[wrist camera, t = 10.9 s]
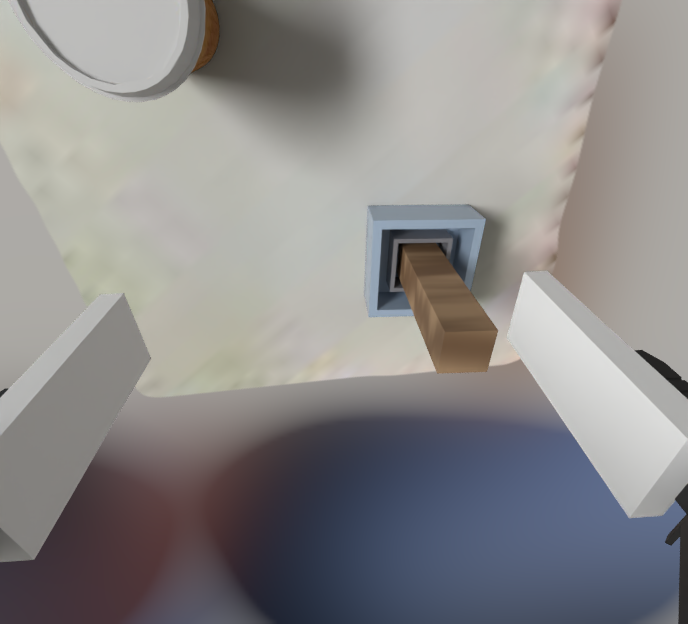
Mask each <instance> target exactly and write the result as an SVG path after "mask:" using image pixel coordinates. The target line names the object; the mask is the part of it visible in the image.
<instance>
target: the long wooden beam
mask: <svg viewBox="0 0 688 624" xmlns="http://www.w3.org/2000/svg"><path fill="white" fill-rule="evenodd" d="M397 274H398V277H399V279H400V282H401V284H402V287H403V289H404V292H405V294H406V296H407V299H408V301H409V304H410V306H411V309H412V311H413V314H414V316H415V319H416V321H417V324H418V326H419V329H420V331H421V334H422V336H423V339H424V341H425V344H426V346H427V349H428V351H429V354H430V356H431V359H432V361H433V364H434V366H435V369H436V371H437V373H461V372H462V373H463V372H487V369H488V366H489V362H490V358H491V355H492V351H493V347H494V344H495V340H496V336H497V333H498V330H497V328H496V327H495V325H494V324H493V323H492V321H491V320H490V318H489V317H488V316H487V314H486V313H485V311H484V310H483V308H482V307H481V306H480V304H479V303H478V301H477V300H476V299H475V297H474V296H473V294H472V293H471V292H470V290H469V289H468V287H467V286H466V285H465V283H464V282H463V280H462V279H461V278H460V276H459V275H458V273H457V272H456V270H455V269H454V268H453V266H452V265H451V263H450V262H449V261H448V259H447V258H446V256H445V255H444V254H443V252H442V251H441V249H440V248H439V247H438V245H437V244H436V243H399V251H398V262H397Z"/></svg>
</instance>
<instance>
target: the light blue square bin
mask: <svg viewBox="0 0 688 624" xmlns="http://www.w3.org/2000/svg"><path fill="white" fill-rule="evenodd" d="M485 221H486V219H485V218H484V217H483V216H482V215H480V214H479V213H478V212H477V211H476V210H474V209H473V208H472V207H471V206H470V205H385V206H368V211H367V236H366V262H365V288H364V297H365V302H366V306H367V311H368V316H369V317H393V316H414V314H413V311H412V309H411V306H410V304H409V301H408V299H407V296H406V294H405V292H404V289H403V287H402V284H401V282H400V279H399V277H398V274H397V262H398V251H399V243H436V244H437V245H438V247H439V248H440V249H441V251H442V252H443V254H444V255H445V256H446V258H447V259H448V261H449V262H450V263H451V265H452V266H453V268H454V269H455V270H456V272H457V273H458V275H459V276H460V278H461V279H462V280H463V282H464V283H465V285H466V286H467V287H468V289H469V290H470V292H471V287H472V282H473V278H474V273H475V268H476V264H477V259H478V254H479V249H480V245H481V240H482V235H483V231H484V226H485Z"/></svg>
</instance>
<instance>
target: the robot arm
mask: <svg viewBox="0 0 688 624" xmlns="http://www.w3.org/2000/svg"><path fill="white" fill-rule="evenodd" d="M507 339H508V340H509V342H510V343H511V345H512V346H513V348H514V349H515V351H516V352H517V354H518V355H519V357H520V358H521V360H522V361H523V362H524V364H525V365H526V367H527V368H528V370H529V371H530V373H531V374H532V376H533V377H534V379H535V380H536V381H537V383H538V385H539V386H540V387H541V389H542V390H543V392H544V393H545V395H546V396H547V398H548V399H549V401H550V402H551V404H552V405H553V407H554V408H555V410H556V411H557V412H558V414H559V415H560V417H561V418H562V420H563V421H564V422H565V424H566V426H567V427H568V429H569V430H570V432H571V433H572V435H573V436H574V438H575V439H576V441H577V442H578V443H579V445H580V446H581V448H582V449H583V451H584V452H585V454H586V455H587V456H588V458H589V460H590V461H591V462H592V464H593V466H594V467H595V468H596V470H597V471H598V473H599V474H600V476H601V477H602V479H603V480H604V482H605V483H606V485H607V486H608V488H609V489H610V490H611V492H612V493H613V495H614V496H615V498H616V499H617V501H618V502H619V504H620V505H621V507H622V508H623V510H624V511H625V512H626V514H627V516H628V517H629V518H637V517H652V516H663V515H664V513H665V512H666V511H667V510H668V509H669V507H670V506H671V505H672V504H673V503H674V501H675V500H676V501H677V502H678V504H679V505H680V506H681V508H682V509H683V510H684V511H685V512H686V516H685V517H684V518H683V519H682V520H681V521H680V522H679V524H677V526H676V527H675V528H674V529H673V530H672V531H671V532H670V533H669V534H668V536H667V539H666V541H665V543H667V544H669V545H672V544H673V543H674V542H675V541H676V540H677V539H678V538H679V537H680V578H679V580H680V581H679V622H678V624H688V383H687V382H686V381H685V380H681V377H680V376H679V375H678V374H677V373H676V372H675V371H673V370H672V369H671V368H670V367H669V366H668V365H667V364H666V363H664V362H663V361H661V360H659V359H657V358H655V357H654V356H652V355H650V354H648V353H646V352H644V351H643V350H633V349H632V348H631V347H630V346H629V345H628V344H627V343H626V342H624V341H623V340H622V339H621V338H620V337H619V336H618V335H617V334H616V333H615V332H613V331H612V330H611V329H610V328H609V327H608V326H607V325H606V324H605V323H604V322H603V321H601V320H600V319H599V318H598V317H597V316H596V315H595V314H594V313H593V312H592V311H590V310H589V309H588V308H587V307H586V306H585V305H584V304H583V303H582V302H581V301H580V300H578V299H577V298H576V297H575V296H574V295H573V294H572V293H571V292H570V291H568V290H567V289H566V288H565V287H564V286H563V285H562V284H561V283H560V282H559V281H558V280H557V279H555V278H554V277H553V276H552V275H551V274H550V273H549V272H548V271H532V272H524V274H523V278H522V282H521V286H520V289H519V293H518V297H517V301H516V305H515V308H514V312H513V316H512V320H511V324H510V327H509V331H508V335H507ZM150 359H151V357H150V355H149V352H148V350H147V347H146V345H145V343H144V340H143V338H142V335H141V333H140V331H139V328H138V326H137V324H136V321H135V319H134V316H133V314H132V312H131V309H130V307H129V304H128V302H127V300H126V297H125V295H124V293H119V294H100V295H99V296H98V297H97V298H96V299H95V300H94V301H93V302H92V303H91V304H90V305H89V306H88V307H87V308H86V309H85V311H83V312H82V313H81V315H80V316H79V317H78V318H77V319H76V320H75V321H74V322H73V323H72V324H71V325H70V326H69V327H68V328H67V329H66V330H65V331H64V332H63V333H62V334H61V335H60V336H59V337H58V338H57V339H56V340H55V342H53V344H52V345H51V346H50V347H49V348H48V349H47V350H46V351H45V352H44V353H43V354H42V355H41V356H40V357H39V358H38V359H37V360H36V361H35V362H34V363H33V364H32V365H31V366H30V367H29V369H28V370H26V372H25V373H24V374H23V375H22V376H21V377H20V378H19V379H18V380H17V381H16V382H15V383H14V384H13V385H12V386H11V387H10V388H9V389H4V390H2V391H1V392H0V562H7V561H20V560H21V561H22V560H34V559H35V557H36V556H37V554H38V552H39V550H40V549H41V547H42V545H43V543H44V542H45V540H46V538H47V536H48V535H49V533H50V531H51V530H52V528H53V526H54V525H55V523H56V521H57V519H58V517H59V516H60V514H61V512H62V511H63V509H64V507H65V506H66V504H67V502H68V500H69V499H70V497H71V495H72V494H73V492H74V490H75V488H76V486H77V485H78V483H79V481H80V480H81V478H82V476H83V475H84V473H85V471H86V469H87V468H88V466H89V464H90V462H91V461H92V459H93V457H94V455H95V454H96V452H97V451H98V448H99V447H100V445H101V444H102V442H103V440H104V438H105V437H106V435H107V433H108V431H109V429H110V428H111V426H112V425H113V423H114V421H115V420H116V418H117V416H118V414H119V413H120V411H121V409H122V407H123V406H124V404H125V402H126V401H127V399H128V397H129V395H130V394H131V392H132V390H133V389H134V387H135V385H136V383H137V382H138V380H139V378H140V376H141V375H142V373H143V371H144V370H145V368H146V366H147V364H148V363H149V361H150Z"/></svg>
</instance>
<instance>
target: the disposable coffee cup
mask: <svg viewBox="0 0 688 624" xmlns="http://www.w3.org/2000/svg"><path fill="white" fill-rule="evenodd" d="M8 1H9V3H10V5H11V8H12V10H13V12H14V14H15V15H16V17H17V18H18V20H19V21H20V23H21V24H22V26H23V28H24V29H25V31H26V32H27V34H28V35H29V37H30V38H31V39H32V40H33V41H34V43H35V44H36V45H37V46H38V47H39V48H40V50H41V51H42V52H43V53H44V54H45V55H46V56H47V57H48V58H49V59H51V60H52V61H53V62H54V63H55V64H56V65H57V66H59V67H60V68H61V70H63V71H64V72H65V73H67V74H68V75H69V76H70V77H72V78H73V79H74V80H76V81H77V82H78V83H80V84H81V85H83V86H85V87H87V88H89V89H90V90H92V91H94V92H96V93H98V94H101V95H104V96H106V97H109V98H111V99H116V100H121V101H127V102H144V101H150V100H155V99H158V98H161V97H163V96H165V95H167V94H169V93H170V92H172V91H174V90H175V89H177V88H178V87H179V86H180V85H181V84H182V83H183V82H184V81H185V80H186V79H187V77H188V76H189V74H190V73H192V72H194V71H195V70H198V69H199V68H201V67H203V66H205V65H206V64H207V63H208V62H209V61H210V60H211V58H212V57H213V55H214V53H215V51H216V48H217V45H218V41H219V21H218V15H217V12H216V9H215V6H214V4H213V2H212V0H8Z"/></svg>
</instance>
